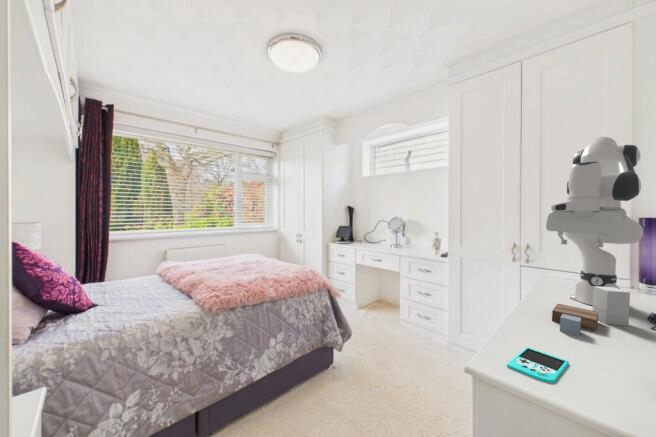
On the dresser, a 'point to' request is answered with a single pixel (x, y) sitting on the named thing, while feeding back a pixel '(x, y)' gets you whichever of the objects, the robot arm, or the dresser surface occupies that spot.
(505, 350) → the dresser surface
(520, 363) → the handheld game console
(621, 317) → the supplement box
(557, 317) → the walnut base
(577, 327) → the slate block
